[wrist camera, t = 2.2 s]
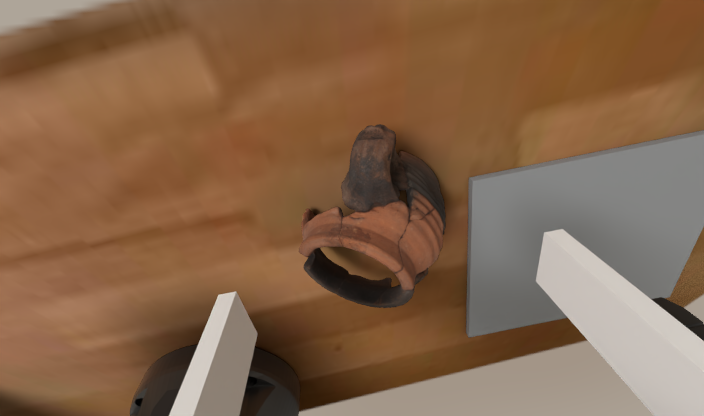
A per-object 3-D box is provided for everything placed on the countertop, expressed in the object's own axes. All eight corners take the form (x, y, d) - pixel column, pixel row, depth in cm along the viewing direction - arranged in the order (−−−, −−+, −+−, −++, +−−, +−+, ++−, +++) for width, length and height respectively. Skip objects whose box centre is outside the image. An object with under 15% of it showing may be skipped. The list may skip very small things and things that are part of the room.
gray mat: (466, 332, 30) (468, 337, 29) (468, 177, 22) (472, 181, 21) (663, 292, 30) (669, 297, 29) (742, 122, 22) (752, 124, 21)
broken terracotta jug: (448, 231, 25) (433, 329, 19) (341, 217, 28) (303, 297, 23) (459, 87, 16) (439, 191, 11) (304, 91, 19) (231, 172, 14)
